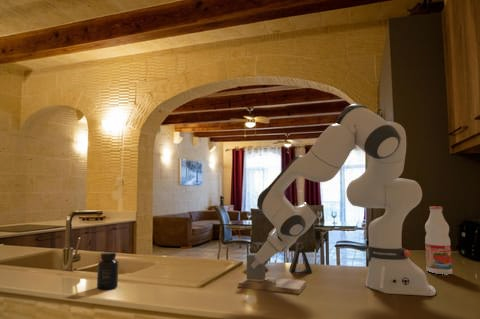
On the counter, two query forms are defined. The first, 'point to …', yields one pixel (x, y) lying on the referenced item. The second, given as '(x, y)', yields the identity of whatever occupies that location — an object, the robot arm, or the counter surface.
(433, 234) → the fruit juice
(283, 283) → the board
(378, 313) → the counter surface
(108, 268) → the supplement bottle
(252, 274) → the sanding block
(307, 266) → the dark brown triangular frame
